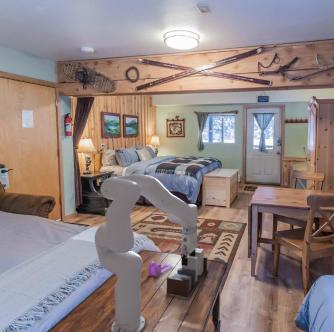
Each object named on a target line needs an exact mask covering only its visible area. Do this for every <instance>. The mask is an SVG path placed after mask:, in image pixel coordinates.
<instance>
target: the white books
mask: <svg viewBox="0 0 334 332" xmlns="http://www.w3.org/2000/svg"><path fill="white" fill-rule="evenodd" d="M195 250H196V251H195V257H198V267H197V275H201V274H202V272H203V261H204V256H205V255H204V254H205V253H204V251H205V250H204V249H203V248H198V247H196V249H195ZM188 256H189V253H188Z"/></svg>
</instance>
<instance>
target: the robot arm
mask: <svg viewBox="0 0 334 332" xmlns="http://www.w3.org/2000/svg"><path fill="white" fill-rule="evenodd" d="M100 194H101V195H102V197H104V198H105V199H107V200H109V201H110V200H111V201H112V202H111V203H110V204H109V207H107V210H106V212H105V216H104V222H105V223H103V224H101V225H100V226H99V227H98V228H97V229H96V231H95V233H94V244H95V250H96V253H97V258H98V261H99V263H100V266H101V267H102V268H103V269H104V270H105V271H107V272H110V273H112V274H114V275H116V276H117V281H116V282H115V284H114V290H113V291H114V314H115V316H114V322H113V323H112V325H111V326H110V327H111V328H110V330H111V331H110V332H142V331H143V330H144V329H145V327H146V326H145V325H146V320H145V317H144V316H143V315H142V300H141V299H142V295H141V290H142V289H141V277H142V271H143V267H144V263H143V258H142V257H141V255H139V254H138V253H136V252H134V251H132V249H133V248H134V246H135V236H134V235H135V234H134V229H133V225H132V219H131V213H132V210H133V208H134V207H135V206H136V203H137V202H138V201H139V199H140V198H141V196H143V197H144V198H145V199H146V200H147V201H149V202H150V203H151V204H152V205H153V206H154V207H155V208H156V209H158V210H160V211H162V212H164V213H166V218H167V220H168V221H169V222H171V223H174V224H177V225H181V234H182V235H181V247H180V249H181V250H180V253H179V254H180V257H181V261H180V263H181V266H182V265H184V266H187V265H188V258H187V256H188V253H189V256H193V257H195V251H196V250H195V249H196V248H198V206H197V205H196V204H193V203H187V202H185V201H183V200H182V199H180V198H179V197H177V196H176V195H174V194H173V193H171V192H170V191H169V190H168V189H167V188H166V186H164V185H163V184H162V182H160V181H159V180H158V179H157V177H154V176H152V175H147V174H142V173H140V174H139V173H132V174H131V173H130V174H125V175H118V176H110V177H108V178H106V179H105V180H104V181H102V183H101V185H100Z"/></svg>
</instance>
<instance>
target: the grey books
mask: <svg viewBox="0 0 334 332" xmlns="http://www.w3.org/2000/svg"><path fill="white" fill-rule="evenodd" d="M171 277H173V278H178V279H184V280H189V291H190V290H191V286H194V285H195V279H196V271H195V270H189V269H183V268H182V267H179V268H178V269H177V270H176V273H174V274H173V275H172V276H171Z"/></svg>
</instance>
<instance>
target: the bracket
mask: <svg viewBox="0 0 334 332" xmlns="http://www.w3.org/2000/svg"><path fill="white" fill-rule="evenodd" d="M171 268H172V265H171V264H170V263H164V264H161V263H157V262H155V261H153V260H152V261H150V263H149V264H148V276H149V277H153V276H155V277H158V276H159V275H161V274H163V273H165V272H167V271H168V270H169V269H171Z"/></svg>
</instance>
